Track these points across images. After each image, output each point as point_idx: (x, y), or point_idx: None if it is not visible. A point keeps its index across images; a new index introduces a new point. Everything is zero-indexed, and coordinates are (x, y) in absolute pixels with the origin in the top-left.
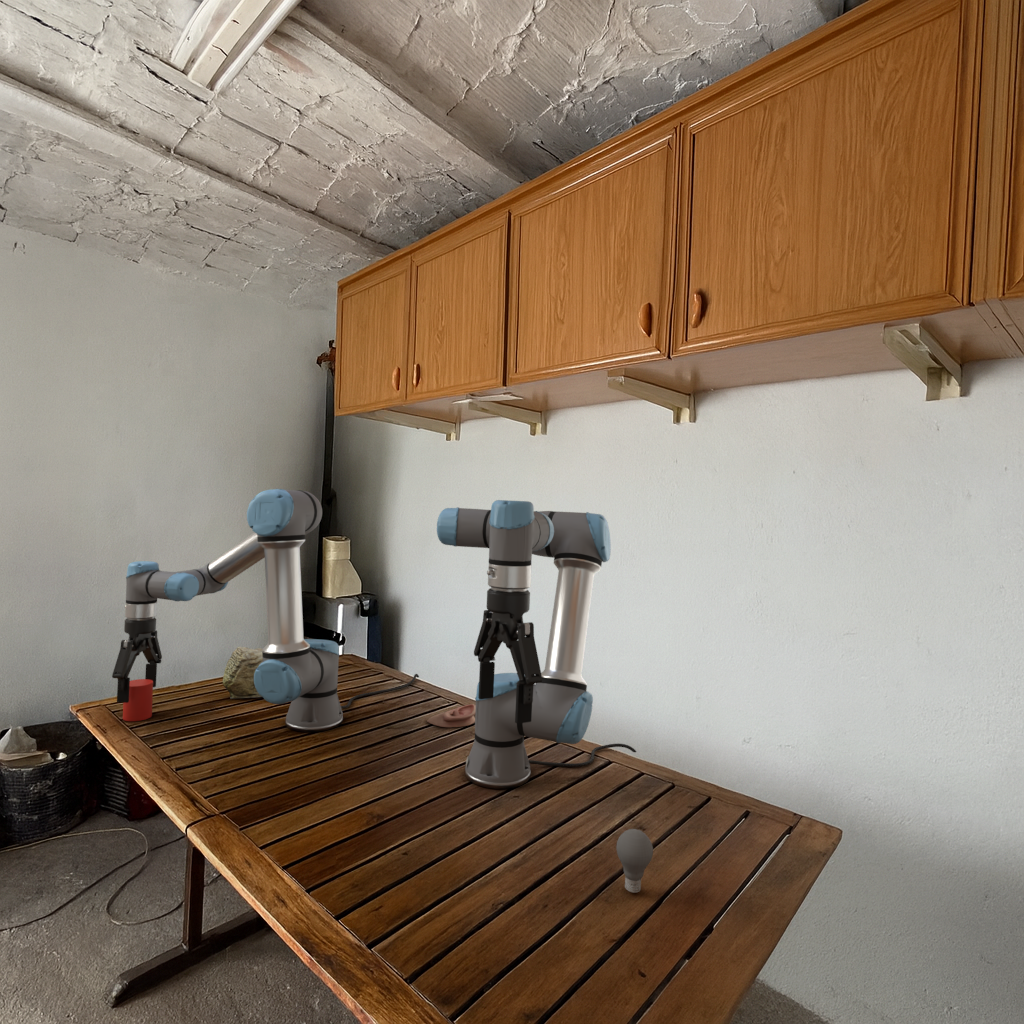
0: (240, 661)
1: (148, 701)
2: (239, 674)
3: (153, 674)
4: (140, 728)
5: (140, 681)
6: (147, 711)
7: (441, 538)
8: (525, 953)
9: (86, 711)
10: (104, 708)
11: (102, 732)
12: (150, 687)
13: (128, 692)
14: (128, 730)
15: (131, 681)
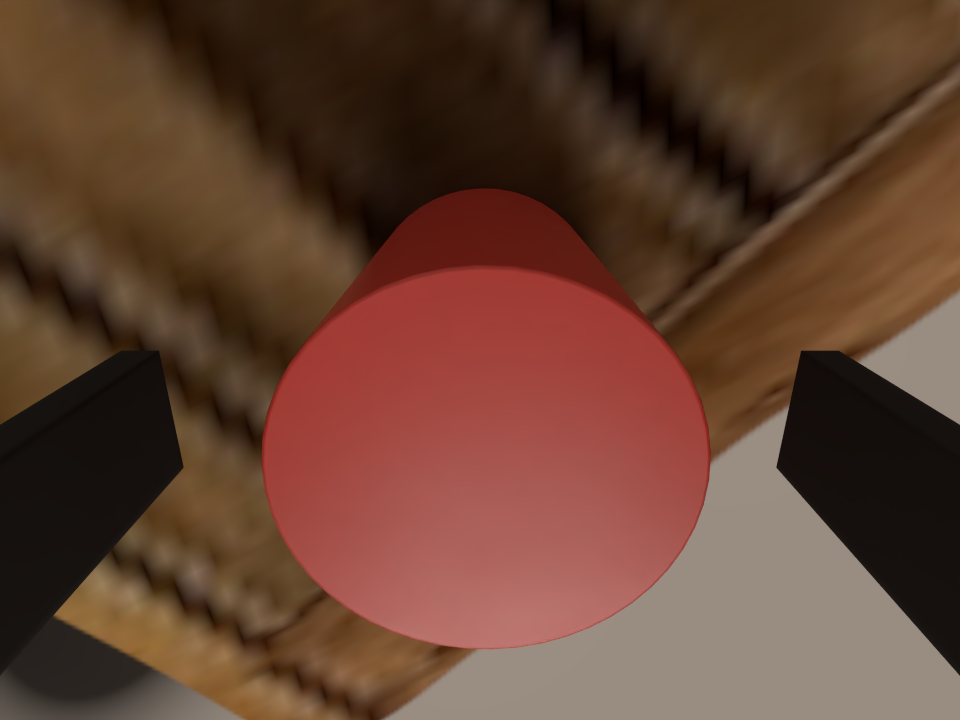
0: None
1: (531, 218)
2: None
3: (34, 469)
4: (784, 119)
5: (412, 491)
6: (532, 204)
7: None
8: None
9: (406, 675)
10: (328, 615)
11: None
12: (512, 248)
13: (910, 407)
14: (827, 202)
15: (437, 603)
